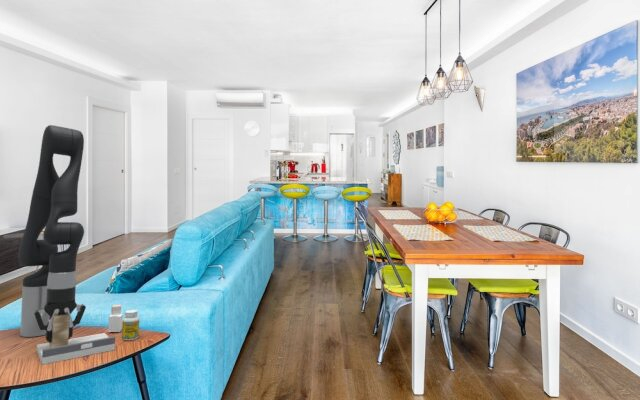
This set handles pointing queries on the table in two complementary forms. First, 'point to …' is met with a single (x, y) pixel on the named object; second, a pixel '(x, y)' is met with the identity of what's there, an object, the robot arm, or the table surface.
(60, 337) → the tea box
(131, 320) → the supplement bottle
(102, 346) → the shelf
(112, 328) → the pepper shaker
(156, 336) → the table surface
